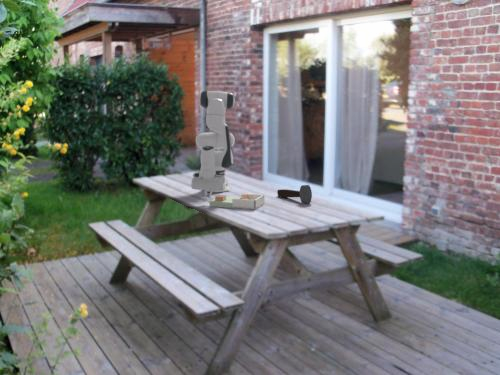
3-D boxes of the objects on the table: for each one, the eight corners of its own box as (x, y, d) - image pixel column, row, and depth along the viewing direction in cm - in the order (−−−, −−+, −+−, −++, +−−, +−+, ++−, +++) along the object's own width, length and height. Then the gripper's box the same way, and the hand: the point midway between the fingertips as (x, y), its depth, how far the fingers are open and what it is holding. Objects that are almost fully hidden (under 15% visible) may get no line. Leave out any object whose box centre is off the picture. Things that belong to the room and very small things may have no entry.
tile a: (244, 193, 350) (248, 194, 350) (244, 201, 351) (248, 202, 350) (242, 195, 346) (246, 195, 345) (242, 203, 347) (246, 203, 346)
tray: (242, 202, 355) (242, 193, 354) (264, 203, 350) (264, 194, 350) (232, 207, 338) (232, 198, 337) (255, 209, 334) (255, 200, 333)
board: (220, 200, 359) (220, 195, 358) (242, 202, 355) (242, 197, 354) (209, 206, 342) (209, 201, 341) (232, 207, 338) (232, 202, 337)
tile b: (218, 199, 348) (218, 195, 347) (226, 199, 346) (226, 195, 346) (215, 200, 343) (215, 196, 342) (223, 201, 341) (223, 197, 341)
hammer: (276, 202, 374) (306, 204, 349) (275, 184, 373) (305, 185, 348) (282, 201, 376) (312, 203, 351) (281, 184, 376) (311, 184, 351)
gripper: (226, 174, 344) (226, 197, 346) (194, 172, 350) (194, 195, 352) (222, 175, 338) (222, 199, 341) (190, 173, 344) (190, 197, 347)
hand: (208, 197), depth 347 cm, fingers closed
